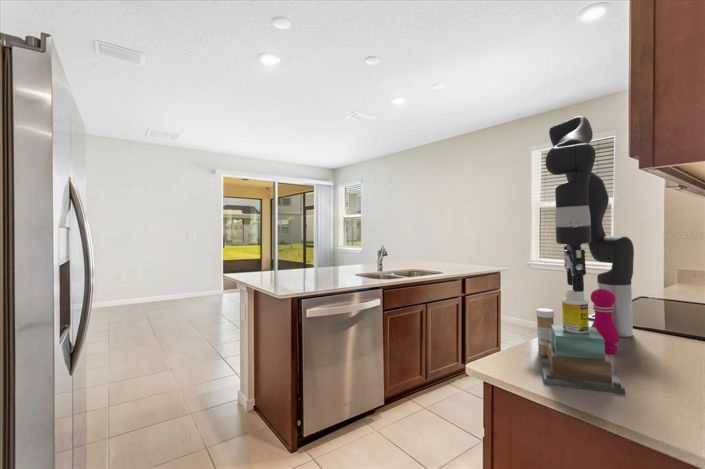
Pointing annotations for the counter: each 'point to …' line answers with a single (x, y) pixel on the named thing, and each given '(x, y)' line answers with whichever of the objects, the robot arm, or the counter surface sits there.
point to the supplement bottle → (575, 312)
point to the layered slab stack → (579, 361)
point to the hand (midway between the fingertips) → (575, 288)
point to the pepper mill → (605, 317)
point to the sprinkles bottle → (544, 328)
